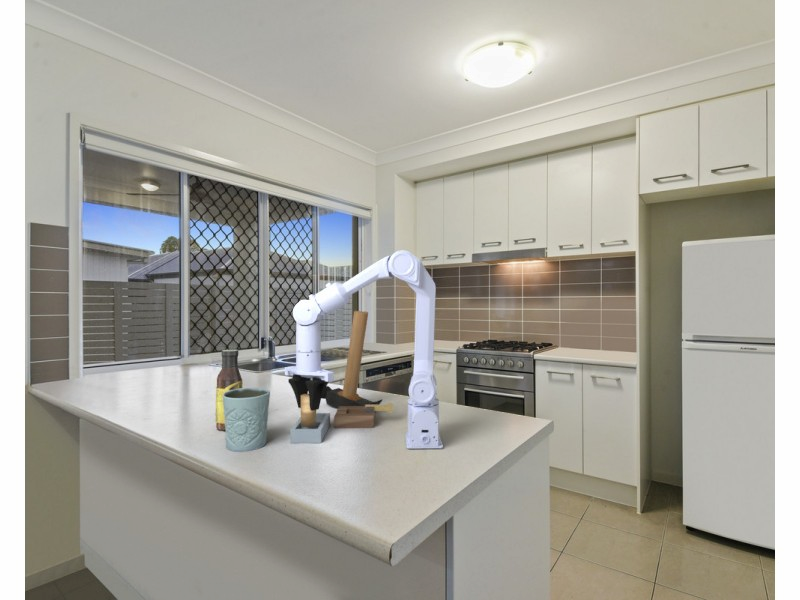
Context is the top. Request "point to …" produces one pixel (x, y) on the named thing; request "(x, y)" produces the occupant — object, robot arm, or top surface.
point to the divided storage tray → (310, 430)
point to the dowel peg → (307, 412)
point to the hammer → (351, 368)
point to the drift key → (381, 407)
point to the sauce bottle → (226, 383)
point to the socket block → (354, 417)
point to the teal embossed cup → (246, 418)
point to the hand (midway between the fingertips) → (308, 408)
